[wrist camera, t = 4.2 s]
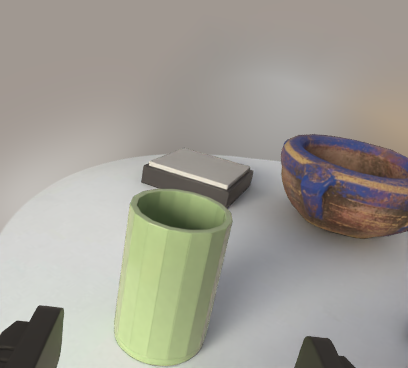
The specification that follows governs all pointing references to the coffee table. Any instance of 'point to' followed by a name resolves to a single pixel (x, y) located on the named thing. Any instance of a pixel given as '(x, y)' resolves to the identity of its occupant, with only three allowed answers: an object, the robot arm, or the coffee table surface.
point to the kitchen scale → (199, 175)
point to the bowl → (346, 185)
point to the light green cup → (169, 274)
